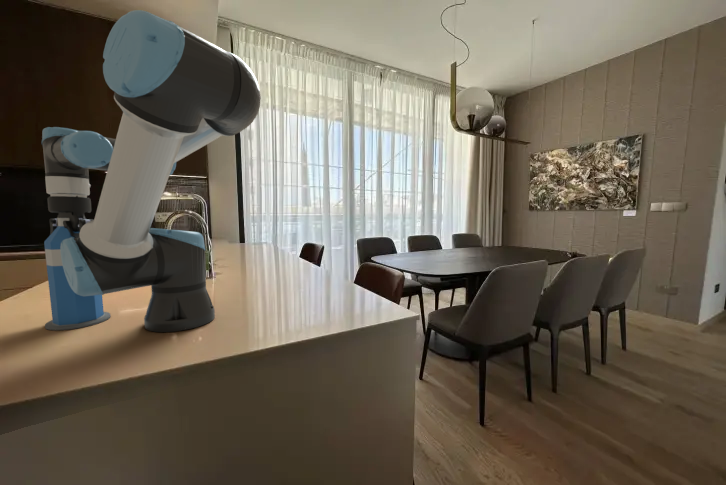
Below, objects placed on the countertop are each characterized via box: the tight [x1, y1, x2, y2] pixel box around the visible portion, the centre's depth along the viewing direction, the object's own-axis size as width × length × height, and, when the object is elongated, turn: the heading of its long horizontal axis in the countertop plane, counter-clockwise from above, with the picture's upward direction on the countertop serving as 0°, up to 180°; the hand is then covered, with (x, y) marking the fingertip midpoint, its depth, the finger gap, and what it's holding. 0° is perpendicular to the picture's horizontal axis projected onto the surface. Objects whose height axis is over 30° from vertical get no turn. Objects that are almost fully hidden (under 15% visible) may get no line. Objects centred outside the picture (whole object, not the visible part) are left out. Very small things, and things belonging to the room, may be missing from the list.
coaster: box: [44, 311, 111, 332], centre depth 76 cm, size 12×12×1 cm
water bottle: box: [43, 217, 105, 325], centre depth 75 cm, size 9×9×25 cm
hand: (76, 287), depth 76 cm, fingers open, 10 cm apart
